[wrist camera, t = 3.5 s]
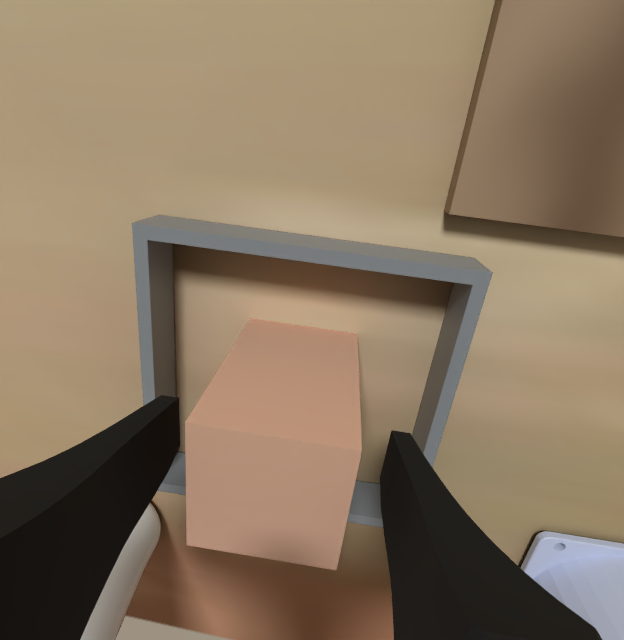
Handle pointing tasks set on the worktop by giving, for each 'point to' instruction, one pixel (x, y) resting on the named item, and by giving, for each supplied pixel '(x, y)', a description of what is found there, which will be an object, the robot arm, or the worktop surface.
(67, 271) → the worktop surface
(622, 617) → the robot arm
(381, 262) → the square frame
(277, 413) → the block
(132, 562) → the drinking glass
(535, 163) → the board
